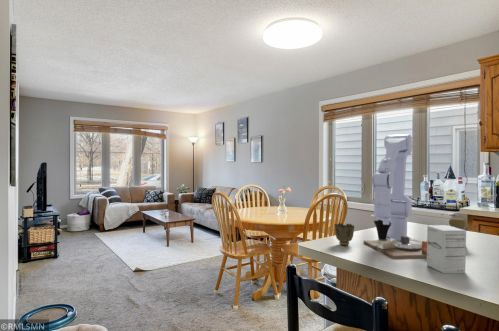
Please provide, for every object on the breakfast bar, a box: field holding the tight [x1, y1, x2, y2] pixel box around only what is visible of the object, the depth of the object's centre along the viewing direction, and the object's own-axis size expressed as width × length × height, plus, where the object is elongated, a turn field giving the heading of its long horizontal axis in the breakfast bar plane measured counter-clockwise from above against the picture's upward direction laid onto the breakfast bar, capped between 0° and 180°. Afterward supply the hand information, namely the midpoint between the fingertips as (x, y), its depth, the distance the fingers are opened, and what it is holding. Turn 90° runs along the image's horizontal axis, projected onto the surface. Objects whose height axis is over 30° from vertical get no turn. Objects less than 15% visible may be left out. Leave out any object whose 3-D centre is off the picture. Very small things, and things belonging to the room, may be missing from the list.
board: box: [363, 235, 427, 260], centre depth 113 cm, size 20×22×5 cm
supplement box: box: [426, 224, 467, 274], centre depth 92 cm, size 7×7×13 cm
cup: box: [333, 222, 355, 247], centre depth 119 cm, size 8×7×8 cm
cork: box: [448, 217, 466, 230], centre depth 117 cm, size 6×6×11 cm
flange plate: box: [377, 238, 422, 250], centre depth 113 cm, size 16×11×3 cm, turn 107°
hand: (382, 240), depth 116 cm, fingers closed
